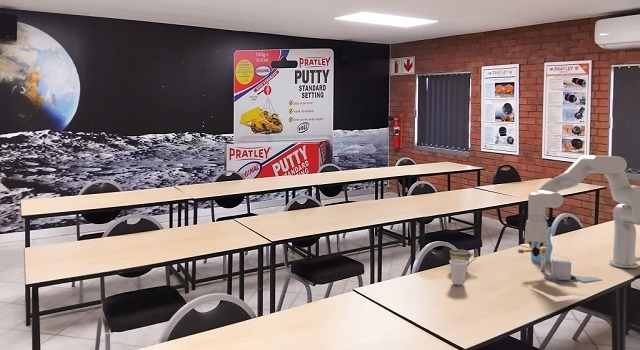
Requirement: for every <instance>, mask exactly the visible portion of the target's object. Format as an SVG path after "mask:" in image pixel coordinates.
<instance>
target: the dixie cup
mask: <svg viewBox="0 0 640 350" xmlns="http://www.w3.org/2000/svg"><path fill="white" fill-rule="evenodd" d="M467 264H468V262H467V261H465V260H458V259H455V260H451V259H449V267H450V276H451V278H450V279H451V284H453V285H458V286H461V285H465V283H466V276H467V271H466V270H468V267H467Z"/></svg>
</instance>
